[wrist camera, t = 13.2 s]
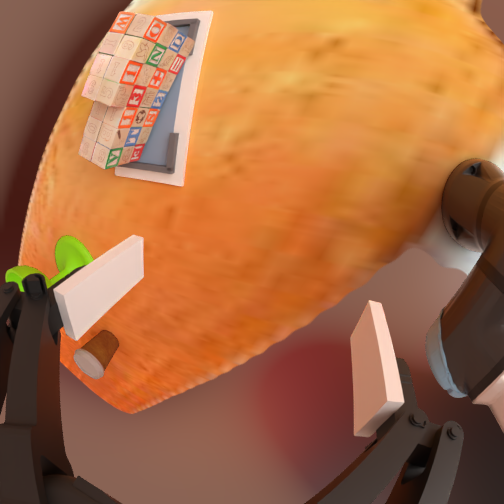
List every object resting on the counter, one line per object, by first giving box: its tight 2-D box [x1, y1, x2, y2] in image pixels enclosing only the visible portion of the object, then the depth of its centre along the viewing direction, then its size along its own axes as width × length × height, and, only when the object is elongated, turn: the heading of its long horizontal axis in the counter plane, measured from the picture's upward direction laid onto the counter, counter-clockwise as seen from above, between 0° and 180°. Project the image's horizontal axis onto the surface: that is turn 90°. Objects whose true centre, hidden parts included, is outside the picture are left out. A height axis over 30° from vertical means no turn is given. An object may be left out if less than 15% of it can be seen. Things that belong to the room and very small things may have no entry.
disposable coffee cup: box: [74, 330, 119, 379], centre depth 59 cm, size 10×10×12 cm
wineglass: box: [6, 235, 94, 292], centre depth 48 cm, size 16×16×18 cm
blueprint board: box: [115, 11, 214, 186], centre depth 36 cm, size 14×30×2 cm, turn 170°
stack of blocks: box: [79, 12, 195, 170], centre depth 30 cm, size 21×6×12 cm, turn 152°
